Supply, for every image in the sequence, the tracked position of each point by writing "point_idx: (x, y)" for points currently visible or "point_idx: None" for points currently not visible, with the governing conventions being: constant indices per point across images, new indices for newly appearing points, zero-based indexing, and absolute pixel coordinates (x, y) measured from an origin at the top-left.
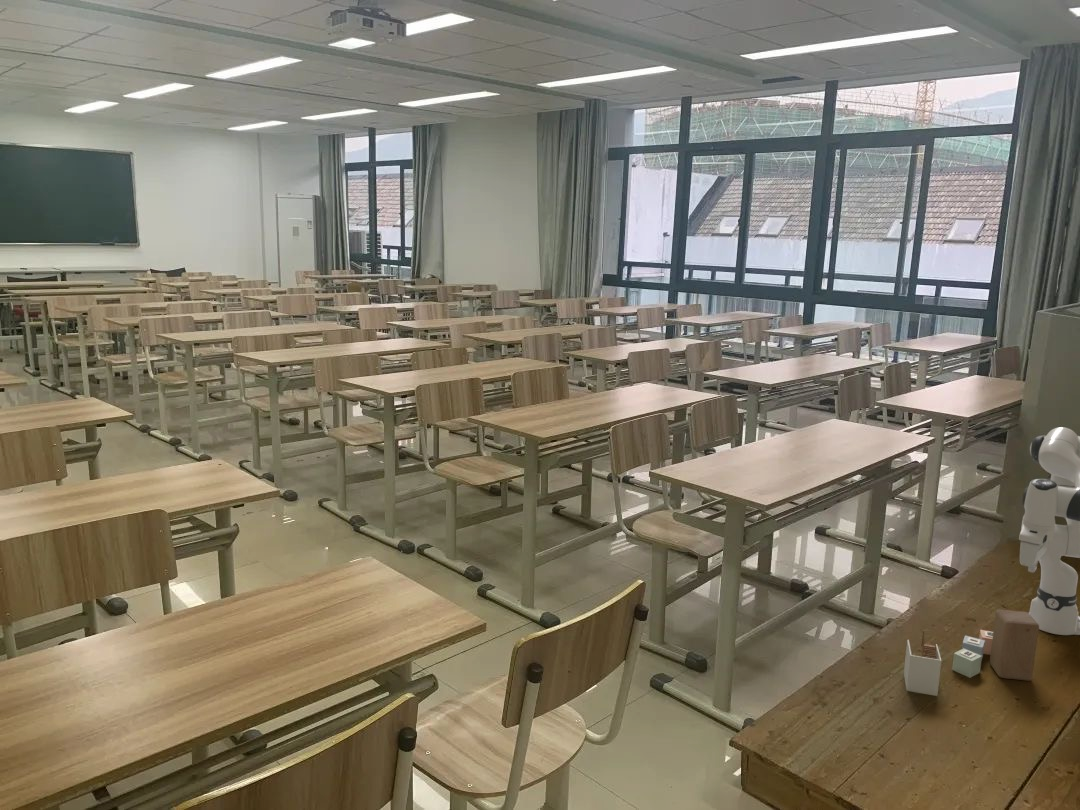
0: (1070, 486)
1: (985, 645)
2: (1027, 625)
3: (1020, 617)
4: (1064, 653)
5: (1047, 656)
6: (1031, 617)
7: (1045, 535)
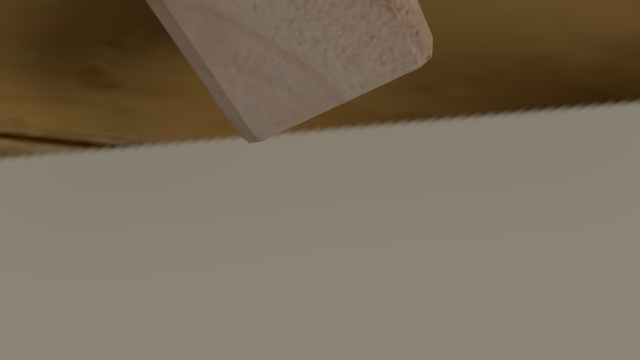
0: None
1: None
2: (206, 86)
3: (277, 38)
4: (612, 83)
5: (552, 34)
6: (338, 96)
7: None
